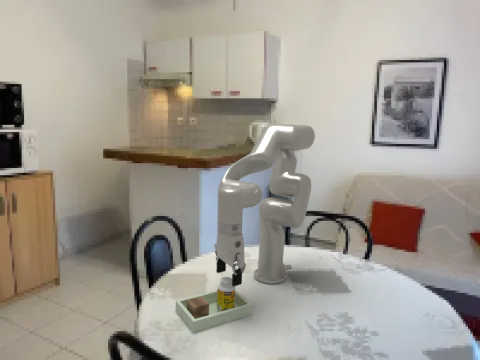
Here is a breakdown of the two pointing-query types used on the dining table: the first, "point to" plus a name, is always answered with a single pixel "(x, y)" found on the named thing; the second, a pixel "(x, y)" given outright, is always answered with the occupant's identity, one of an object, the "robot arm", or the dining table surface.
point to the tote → (213, 311)
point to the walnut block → (198, 307)
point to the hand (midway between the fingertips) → (228, 278)
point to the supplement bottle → (225, 294)
